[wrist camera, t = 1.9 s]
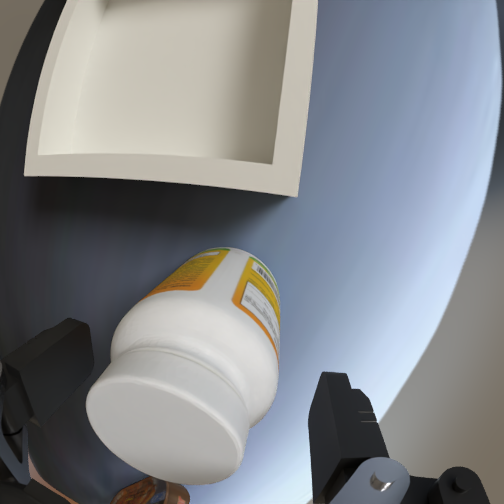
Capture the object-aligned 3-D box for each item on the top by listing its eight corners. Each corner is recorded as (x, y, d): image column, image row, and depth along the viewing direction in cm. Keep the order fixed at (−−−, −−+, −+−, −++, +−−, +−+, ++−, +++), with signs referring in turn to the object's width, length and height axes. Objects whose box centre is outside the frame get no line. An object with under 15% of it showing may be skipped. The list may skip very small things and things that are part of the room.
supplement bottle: (167, 321, 16) (69, 446, 6) (191, 229, 14) (57, 303, 5) (259, 356, 15) (234, 513, 6) (296, 267, 14) (318, 407, 5)
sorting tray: (109, -9, 11) (83, -33, 8) (315, -21, 10) (320, -59, 7) (65, 174, 14) (23, 175, 11) (293, 194, 13) (297, 197, 10)
